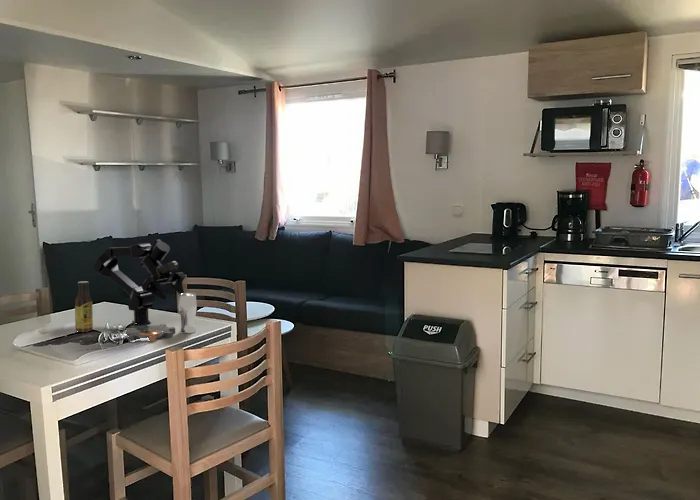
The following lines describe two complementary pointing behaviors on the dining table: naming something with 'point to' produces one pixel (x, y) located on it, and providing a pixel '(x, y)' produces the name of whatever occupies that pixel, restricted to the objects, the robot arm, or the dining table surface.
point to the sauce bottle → (83, 308)
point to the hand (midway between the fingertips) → (175, 297)
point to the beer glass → (187, 312)
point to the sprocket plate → (150, 332)
